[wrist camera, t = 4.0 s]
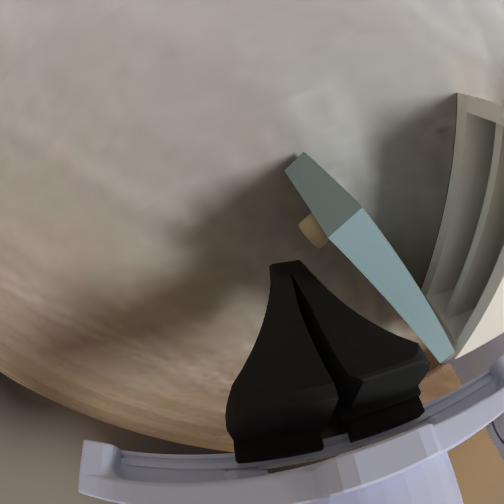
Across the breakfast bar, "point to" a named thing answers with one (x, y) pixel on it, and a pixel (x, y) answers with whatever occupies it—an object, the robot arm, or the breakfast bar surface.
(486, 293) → the cabinet
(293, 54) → the breakfast bar surface
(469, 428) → the robot arm
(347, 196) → the door
